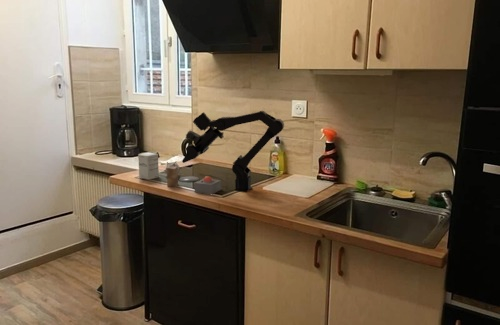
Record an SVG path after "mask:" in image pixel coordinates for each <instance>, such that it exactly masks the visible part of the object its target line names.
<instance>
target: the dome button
mask: <svg viewBox="0 0 500 325" xmlns="http://www.w3.org/2000/svg"><path fill="white" fill-rule="evenodd" d="M203 179H204V180H203V183H212V182H213V180H212V179H213V178H212V177H211V176H208V175H207V176H205V177H204V178H203Z"/></svg>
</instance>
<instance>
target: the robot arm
mask: <svg viewBox="0 0 500 325" xmlns="http://www.w3.org/2000/svg"><path fill="white" fill-rule="evenodd" d="M259 121H261V122H262V123H263V124H265V126H267V127H268V128H267V129H266V131H265V132H264V134H263V135H262V136H261V137H260V139H258V140H257V142H256V143H255V144H253V146H251V149H249V151H247V152H246V154H245V155H242V154H240V155H239V156H238V157H237V158H236V160H235V161H233V162H232V166H231V170H232V173H233V174H235V179H234V183H235V184H234V191H239V192H249V191H250V190H252V189H253V186H252V183H251V182H252V176H250V175H251V173H252V170H251V169H250V168H249V167H248V166H249V164H250V163H251V161H252V160H253V159H254V157H255V156H256V155H257V154H259V153H260V152H261V150H262V149H263V148H264V147H265V146H266V145H267V143H269V142H270V140H272V139H273V138H274V137H276V136H277V135H278V134H279V133H281V132H282V131H283V130H284V128H285V123H284V121H283V120H282V119H280V118H276V117H274V116H273V115H271V114H269V113H267V112H266V111H264V110H260V111H257V112H252V113H247V114H242V115H238V116H221V117H219V118H217V119H211V118H209V116H208V115H207V114H206V113H205V112H202V113H201V114H200V115H198V116H197V117H195V118H194V119H193V120H192V123H193V124H194V125H195V126H196V128H198V129H199V131H204V133H203V134H201V135H200V134H198V133H197V132H195V131H193V130H189V131H187V133H186V134H185V139H187V140H190V141H192V142H193V144H189V145H187V146H186V148H185V152H186V154H185V155H184V157H183V159H182V160H181V162H182V163H187V162H189V161H192V160H194V159H196V158H198V157H199V156H201V155H202V154H204V153H205V152H208V150H209V149H210V145H212V144H213V143H214V142H215V141H216V140H217V139H218V138H219V139H221V140H222V139H223V138H224V131H225V130H228V129H230V128H233V127H235V126H238V125H242V124H248V123H252V122H259Z"/></svg>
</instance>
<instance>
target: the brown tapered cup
mask: <svg viewBox="0 0 500 325" xmlns="http://www.w3.org/2000/svg"><path fill="white" fill-rule="evenodd" d="M178 176H179V173H178V167H171V166H170V167H168V168H167V172H166V185H167V187H170V188H171V187H172V188H176V187H178V185H179V177H178Z"/></svg>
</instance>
